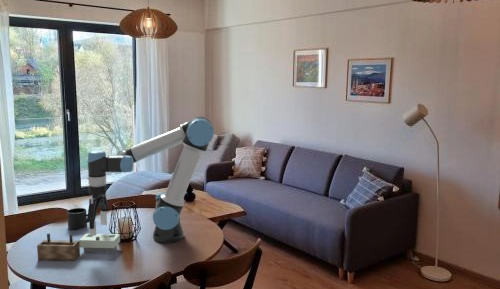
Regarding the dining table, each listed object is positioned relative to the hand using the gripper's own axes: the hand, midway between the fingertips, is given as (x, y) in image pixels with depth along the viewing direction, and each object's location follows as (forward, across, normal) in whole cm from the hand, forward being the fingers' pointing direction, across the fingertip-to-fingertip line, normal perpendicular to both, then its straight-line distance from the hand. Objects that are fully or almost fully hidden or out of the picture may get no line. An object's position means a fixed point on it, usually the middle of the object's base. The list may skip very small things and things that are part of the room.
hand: (98, 229), depth 196 cm
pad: (+10, 0, +1) cm, 10 cm away
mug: (+11, -30, -21) cm, 38 cm away
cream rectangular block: (+7, 0, 0) cm, 7 cm away
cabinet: (+10, +9, -14) cm, 20 cm away
